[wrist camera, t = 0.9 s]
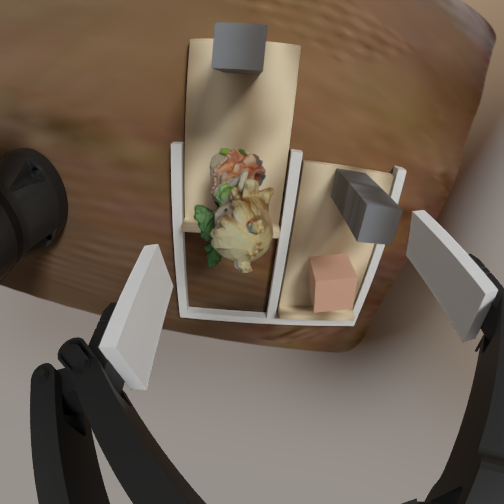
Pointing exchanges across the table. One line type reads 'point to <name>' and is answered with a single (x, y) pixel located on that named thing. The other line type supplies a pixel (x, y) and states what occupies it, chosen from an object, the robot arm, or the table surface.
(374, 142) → the table surface
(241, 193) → the figurine
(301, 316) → the strip
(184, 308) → the lane board
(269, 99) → the strip
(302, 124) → the table surface
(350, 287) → the terracotta cube
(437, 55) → the table surface
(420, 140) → the table surface
